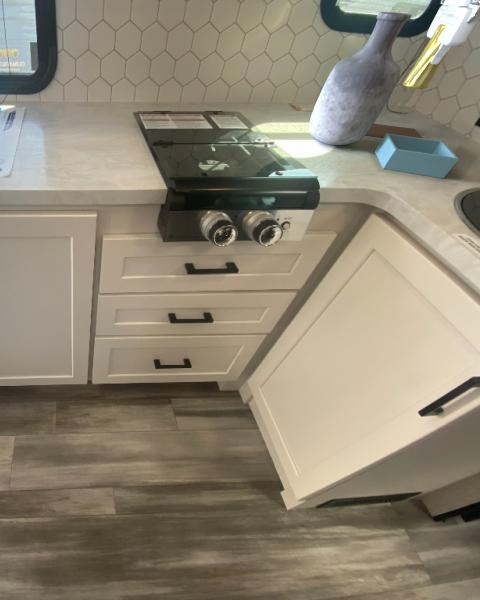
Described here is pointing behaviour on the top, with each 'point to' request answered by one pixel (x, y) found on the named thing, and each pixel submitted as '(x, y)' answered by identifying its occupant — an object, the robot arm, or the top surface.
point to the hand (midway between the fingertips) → (429, 61)
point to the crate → (415, 155)
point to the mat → (391, 131)
